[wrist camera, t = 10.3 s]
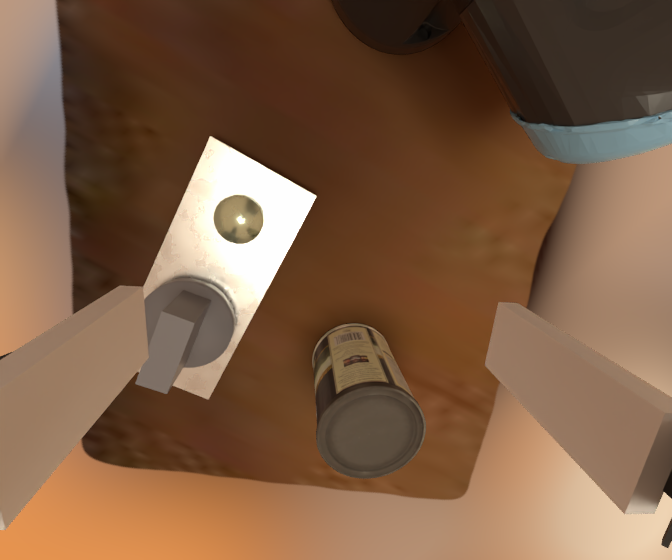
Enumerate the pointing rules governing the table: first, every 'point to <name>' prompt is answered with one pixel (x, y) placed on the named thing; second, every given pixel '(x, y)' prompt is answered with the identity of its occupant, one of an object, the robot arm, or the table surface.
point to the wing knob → (184, 330)
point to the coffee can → (363, 404)
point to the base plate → (229, 240)
